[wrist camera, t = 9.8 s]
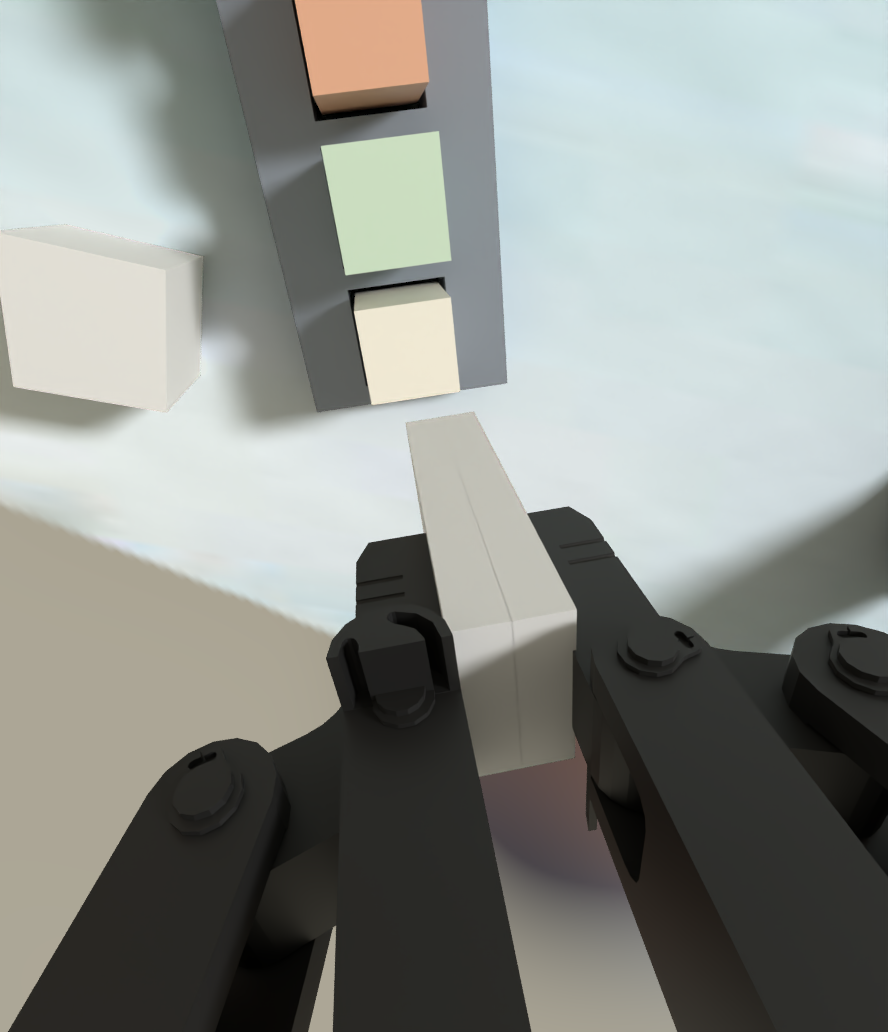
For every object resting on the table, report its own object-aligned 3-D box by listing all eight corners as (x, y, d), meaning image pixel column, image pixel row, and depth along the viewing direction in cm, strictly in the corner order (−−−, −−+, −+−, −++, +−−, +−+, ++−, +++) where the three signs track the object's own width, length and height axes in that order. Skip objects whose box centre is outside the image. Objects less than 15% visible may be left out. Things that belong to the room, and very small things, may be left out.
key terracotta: (416, 103, 23) (429, 81, 19) (322, 115, 23) (313, 96, 18) (402, -27, 21) (412, -85, 16) (298, -15, 21) (281, -70, 16)
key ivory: (445, 362, 29) (460, 391, 24) (370, 373, 28) (371, 405, 24) (436, 281, 26) (450, 297, 22) (355, 292, 26) (353, 311, 22)
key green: (436, 249, 25) (451, 260, 20) (348, 261, 24) (345, 275, 20) (424, 143, 23) (438, 130, 18) (328, 155, 22) (320, 145, 18)
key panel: (495, 367, 31) (507, 383, 28) (321, 394, 30) (317, 412, 28) (453, -279, 19) (468, -353, 16) (166, -254, 19) (135, -326, 16)
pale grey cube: (77, 352, 28) (12, 387, 23) (66, 224, 25) (-11, 230, 20) (201, 375, 29) (166, 413, 24) (204, 256, 26) (165, 270, 21)
